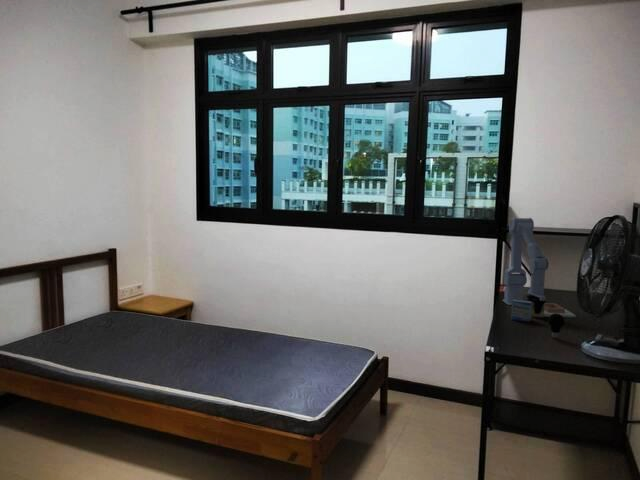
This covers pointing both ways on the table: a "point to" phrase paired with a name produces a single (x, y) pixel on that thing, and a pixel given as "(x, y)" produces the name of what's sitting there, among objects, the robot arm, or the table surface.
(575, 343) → the table surface
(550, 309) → the holder
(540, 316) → the oak block
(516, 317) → the medicine box
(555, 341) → the table surface
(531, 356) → the table surface
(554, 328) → the light bulb
